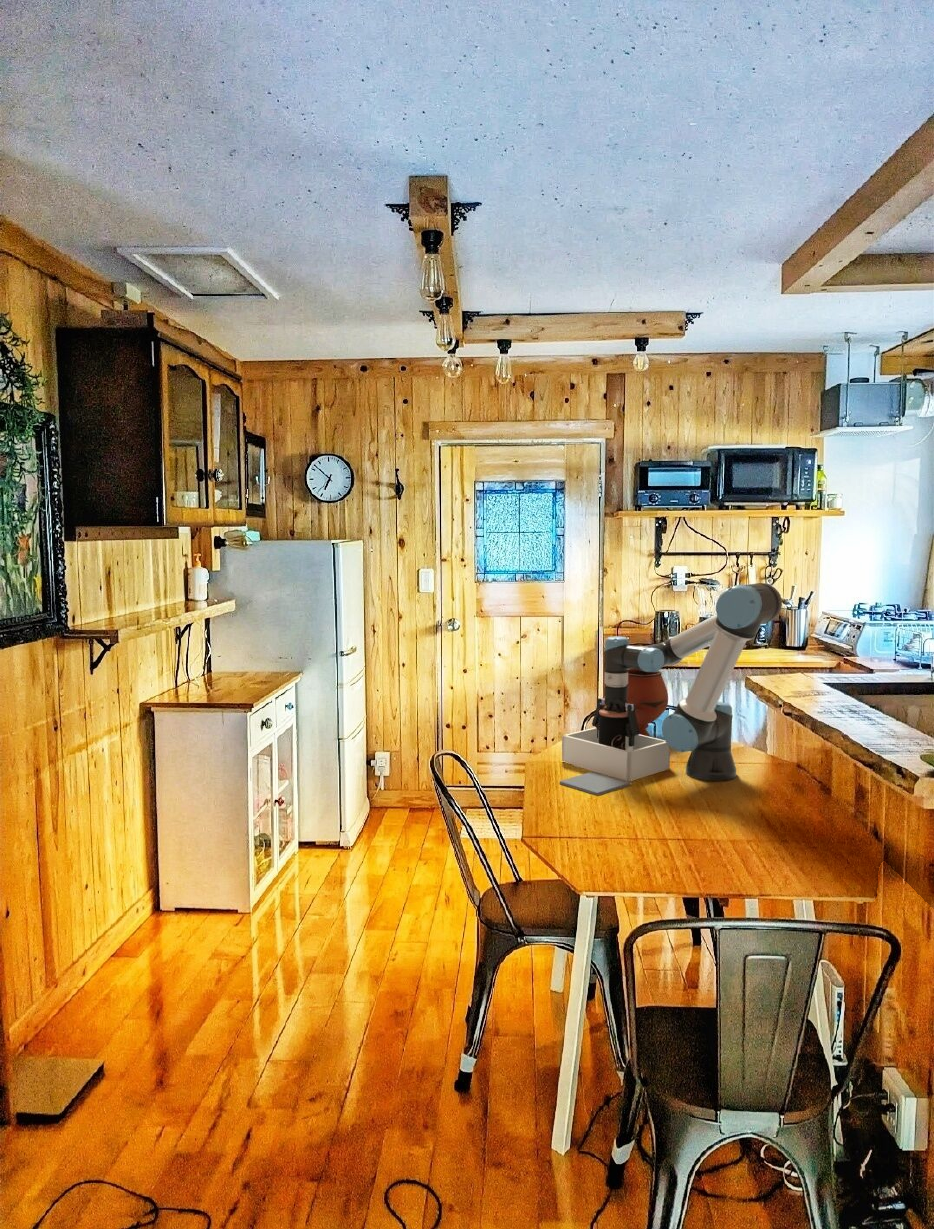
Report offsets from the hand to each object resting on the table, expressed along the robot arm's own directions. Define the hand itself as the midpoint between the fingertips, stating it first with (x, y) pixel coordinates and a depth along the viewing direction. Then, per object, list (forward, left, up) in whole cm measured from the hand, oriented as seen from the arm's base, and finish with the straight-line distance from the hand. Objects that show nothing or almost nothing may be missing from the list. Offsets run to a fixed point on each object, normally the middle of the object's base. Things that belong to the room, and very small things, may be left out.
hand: (615, 752), depth 284 cm
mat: (-9, +20, -4) cm, 22 cm away
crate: (0, 0, -4) cm, 4 cm away
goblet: (+16, -33, -5) cm, 37 cm away
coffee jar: (0, 0, -5) cm, 5 cm away
